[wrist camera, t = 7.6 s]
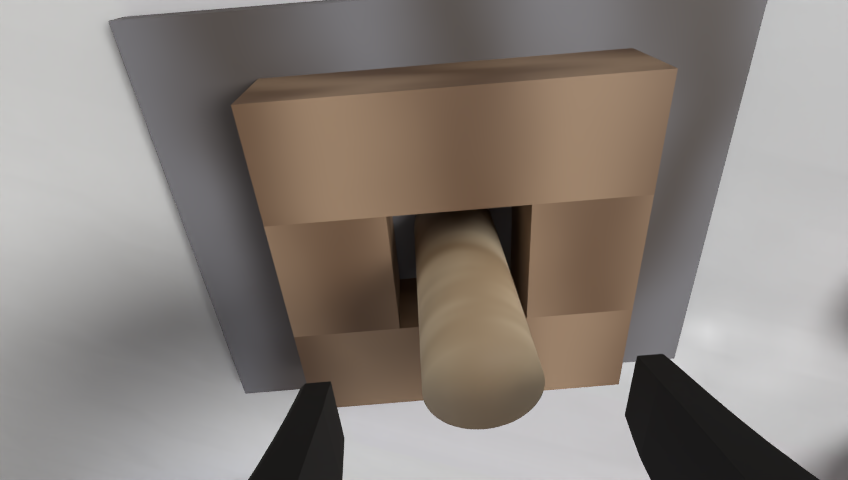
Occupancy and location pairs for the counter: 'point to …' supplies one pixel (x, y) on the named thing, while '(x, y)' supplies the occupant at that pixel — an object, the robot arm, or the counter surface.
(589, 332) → the holder
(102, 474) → the counter surface
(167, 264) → the counter surface
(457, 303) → the peg
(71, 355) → the counter surface
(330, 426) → the robot arm
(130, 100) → the counter surface
